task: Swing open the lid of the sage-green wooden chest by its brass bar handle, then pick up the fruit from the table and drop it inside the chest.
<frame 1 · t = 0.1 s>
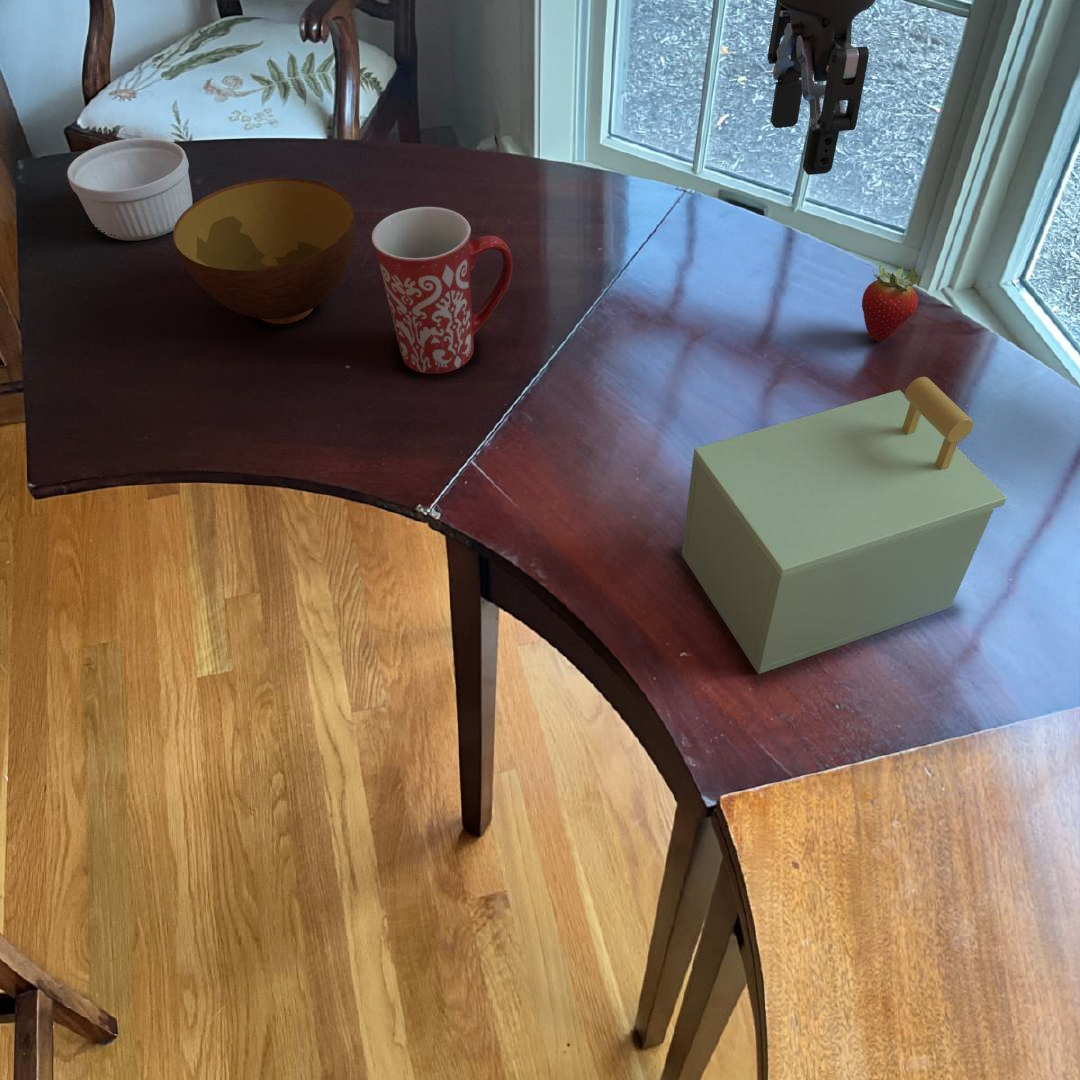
hand: (799, 147, 84), 21 cm above the table, tool pointing down, fingers open, 8 cm apart
bowl: (285, 308, 106), on the table
lid: (851, 451, 69), point 14 cm above the table, hinge at 0.0°
chest: (812, 580, 78), on the table
fruit: (879, 340, 100), on the table
ramekin: (146, 220, 119), on the table
mug: (454, 352, 100), on the table
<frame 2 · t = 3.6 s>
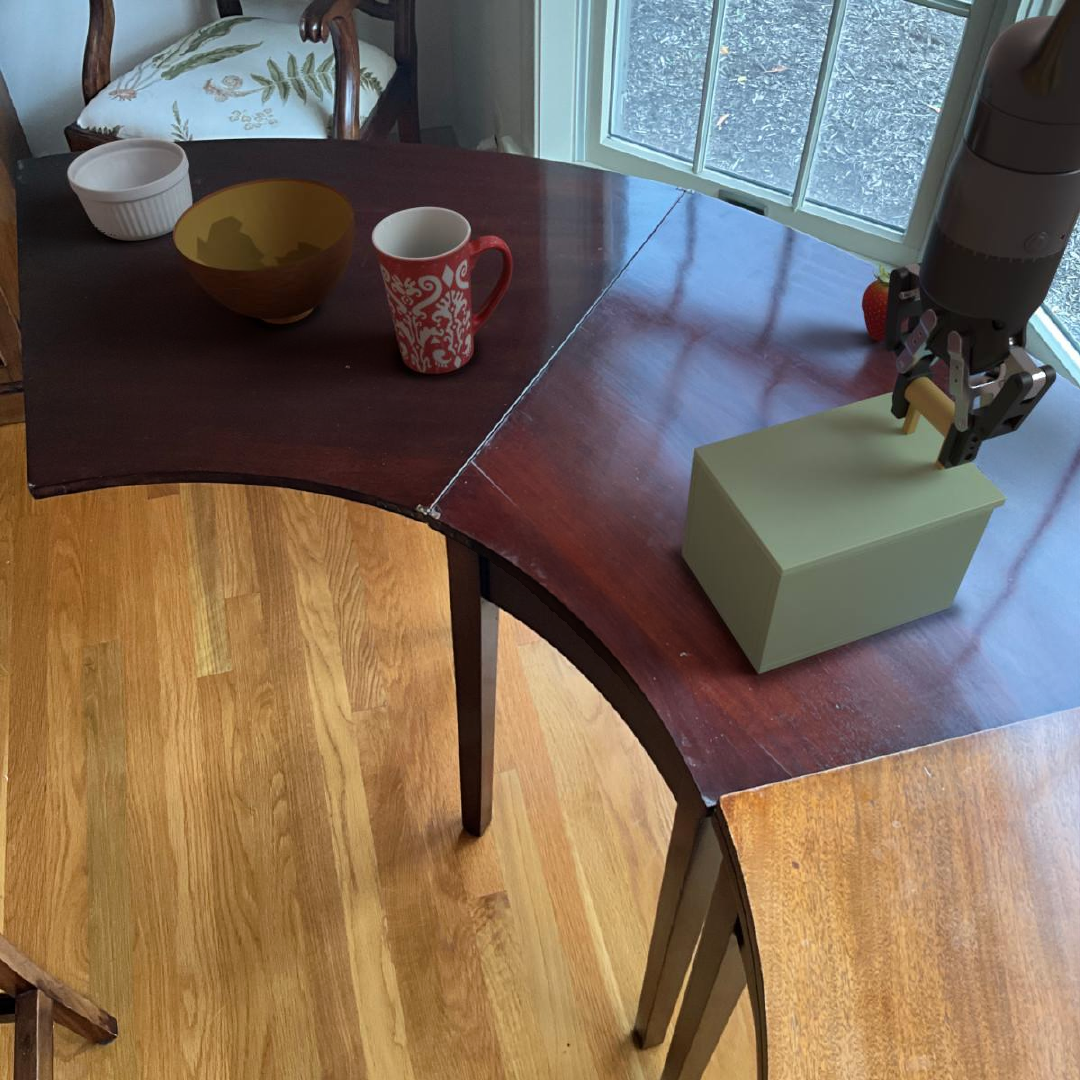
hand: (928, 436, 71), 13 cm above the table, tool pointing down, fingers closed on lid, 5 cm apart
lid: (851, 451, 69), point 14 cm above the table, hinge at 0.0°, touching gripper
everything else where it was.
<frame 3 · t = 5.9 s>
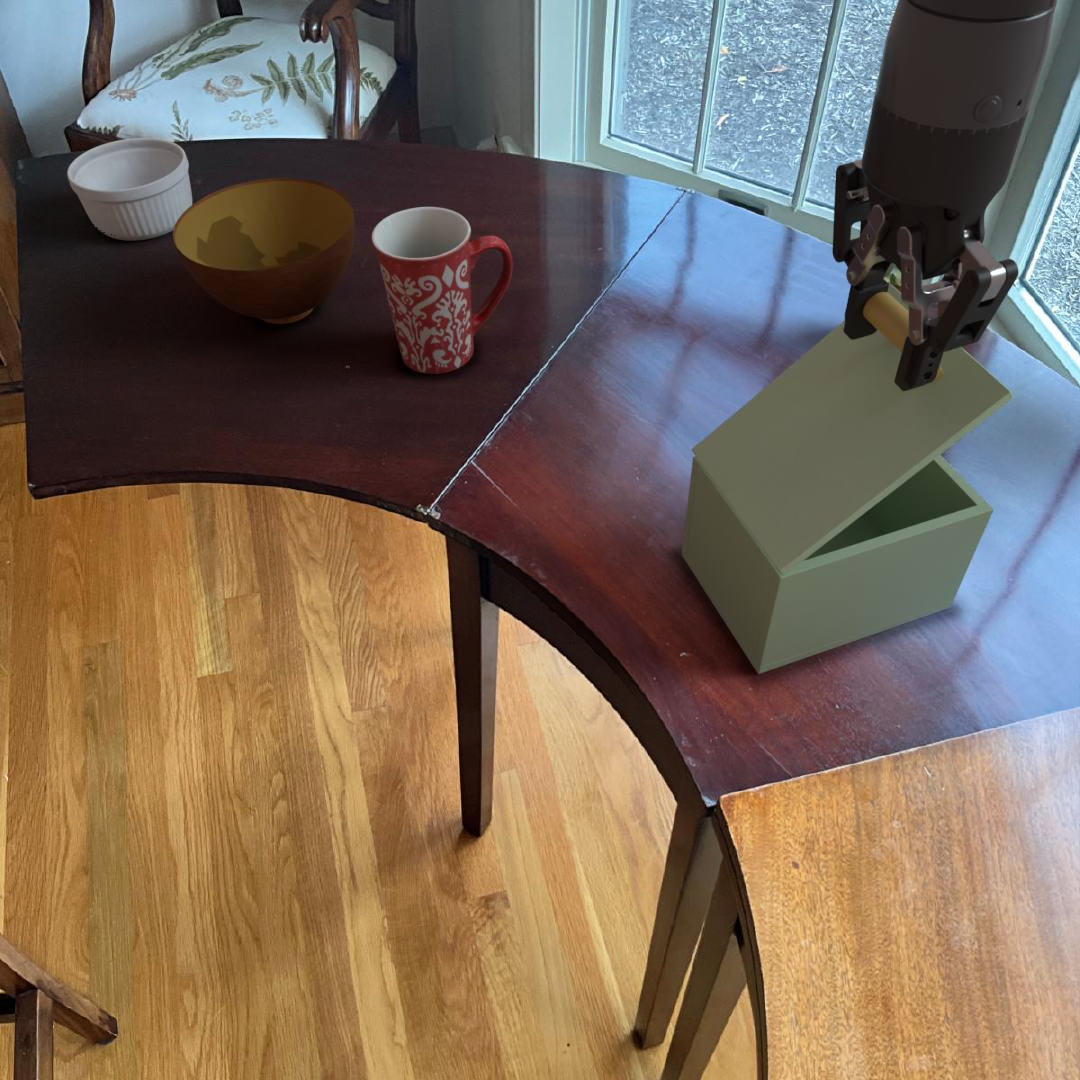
hand: (884, 357, 63), 21 cm above the table, tool pointing down, fingers closed on lid, 5 cm apart
lid: (824, 409, 64), point 18 cm above the table, hinge at 36.8°, touching gripper
everything else where it was.
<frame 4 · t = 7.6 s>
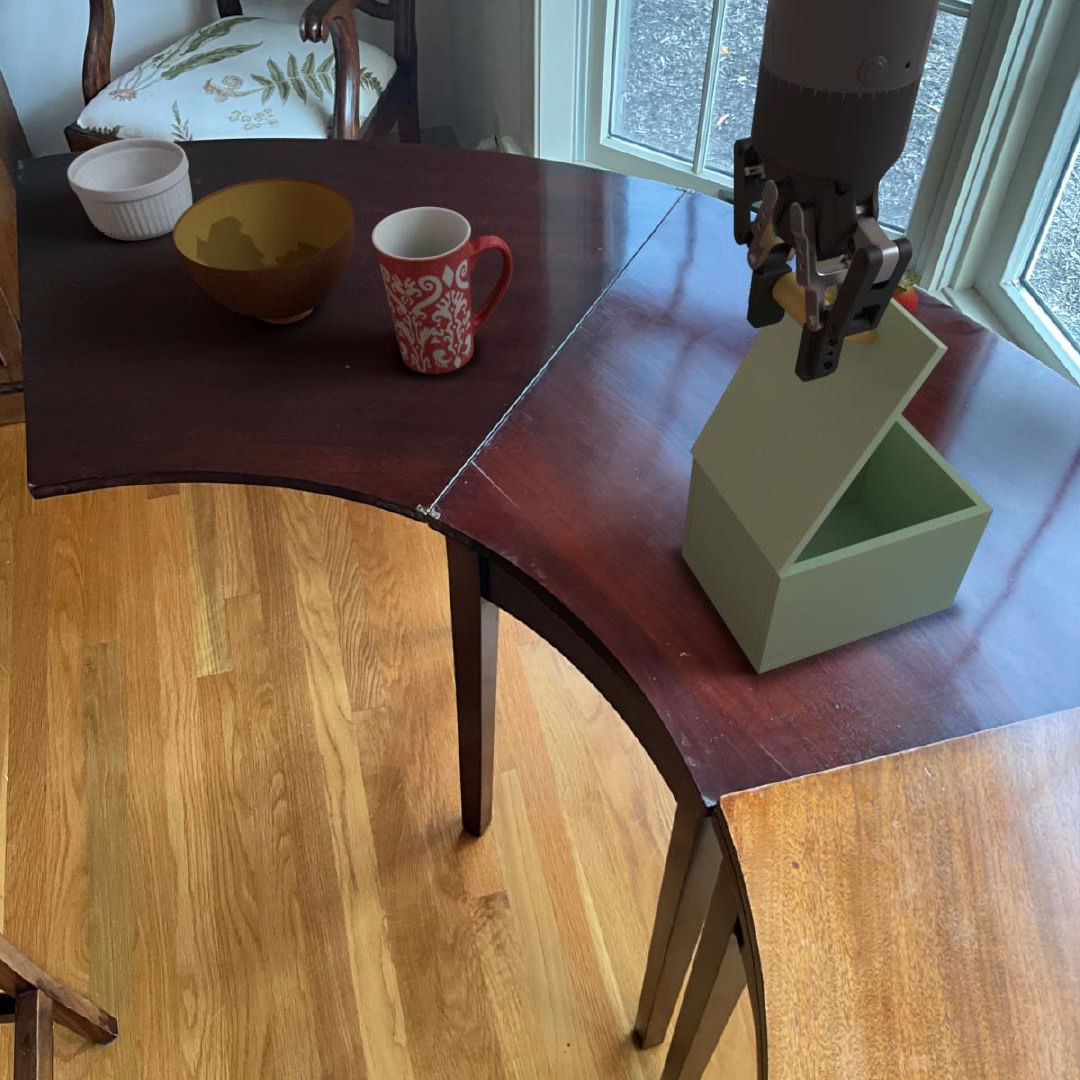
hand: (788, 347, 59), 24 cm above the table, tool pointing down, fingers closed on lid, 5 cm apart
lid: (774, 403, 62), point 20 cm above the table, hinge at 65.0°, touching gripper
everything else where it was.
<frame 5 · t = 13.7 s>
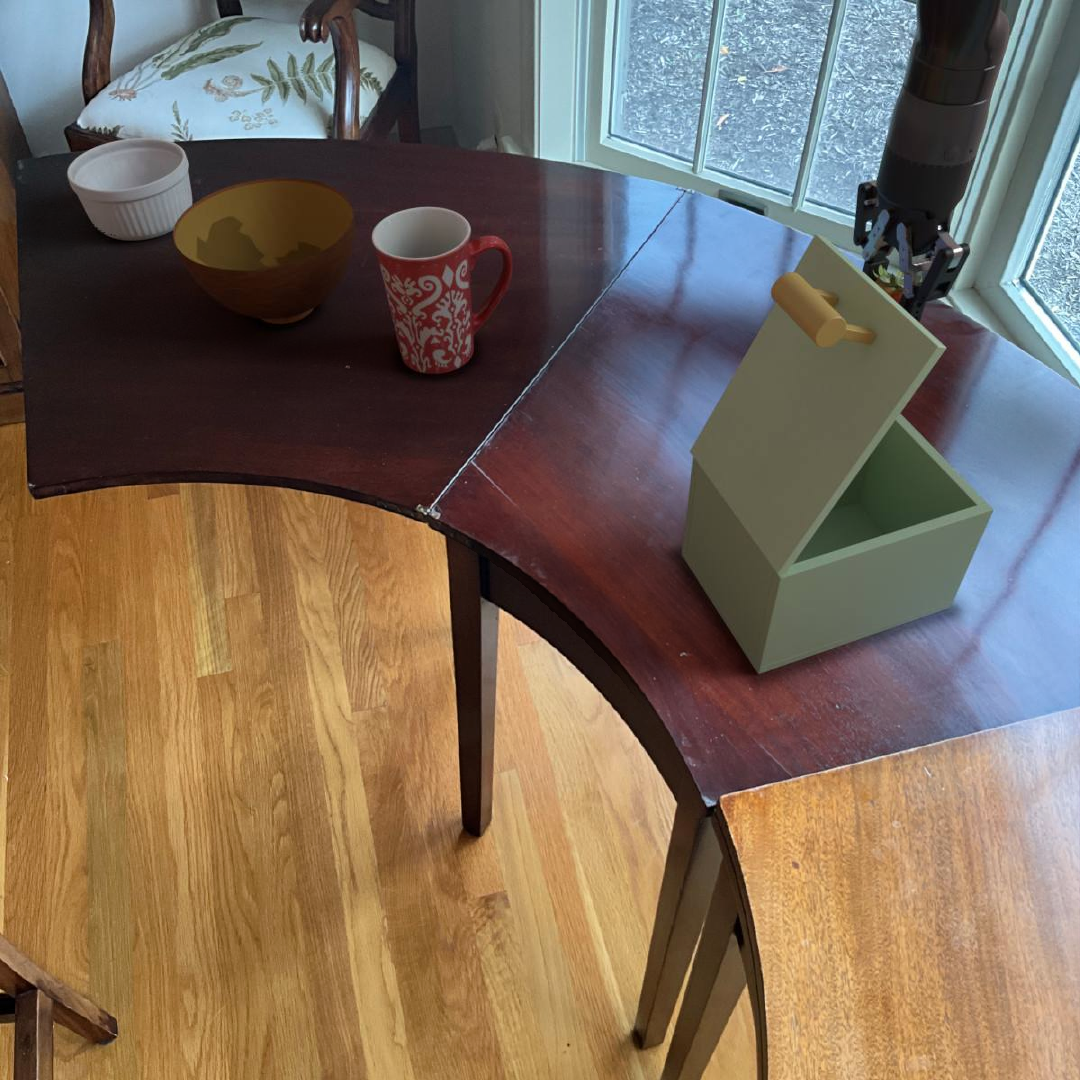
hand: (886, 309, 97), 3 cm above the table, tool pointing down, fingers closed on fruit, 5 cm apart
lid: (773, 403, 62), point 20 cm above the table, hinge at 65.4°
fruit: (879, 340, 100), on the table, touching gripper
everything else where it was.
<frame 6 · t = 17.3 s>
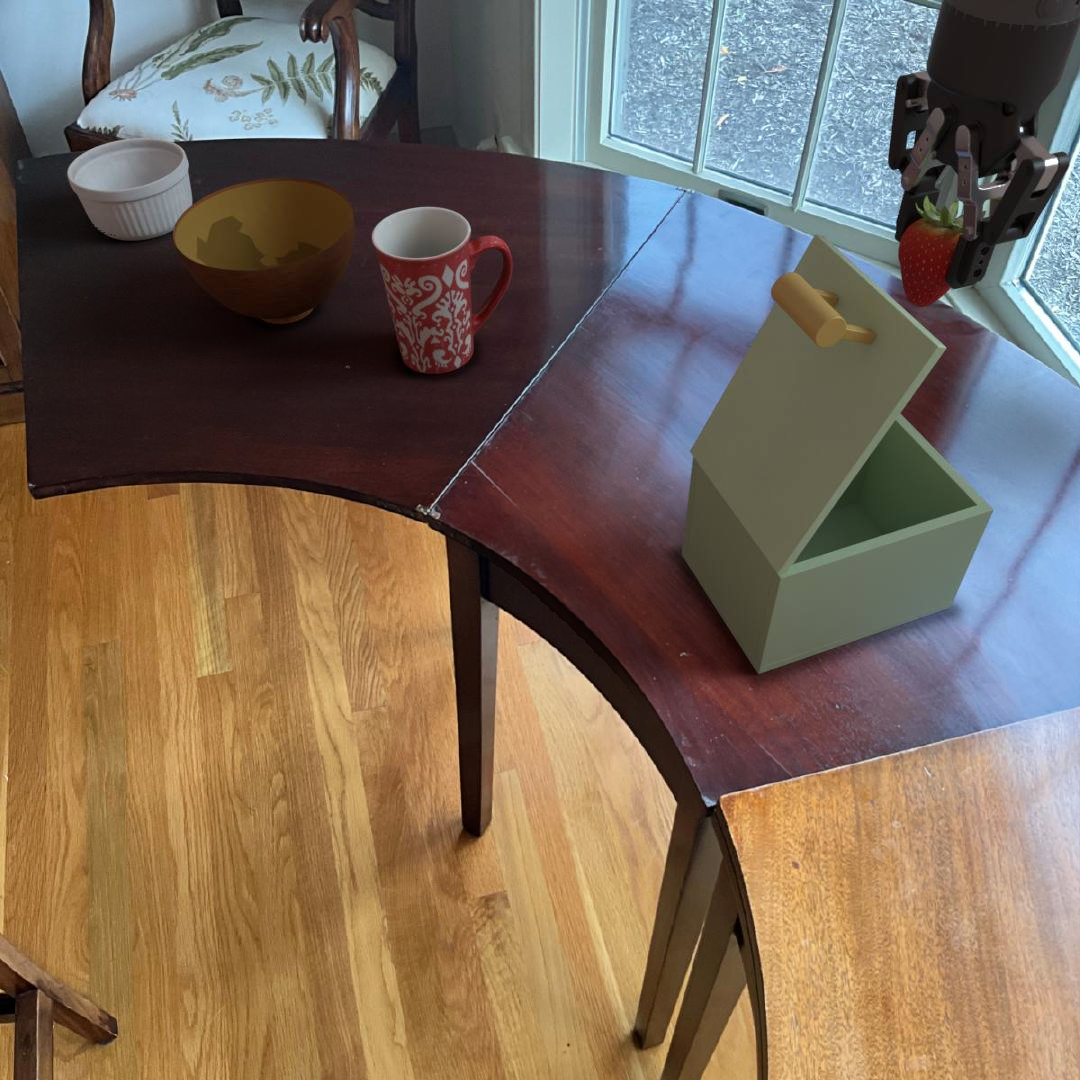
hand: (934, 260, 68), 23 cm above the table, tool pointing down, fingers closed on fruit, 5 cm apart
fruit: (921, 307, 71), point 19 cm above the table, touching gripper
everything else where it was.
when the fingers open (11 cm above the table, at t = 21.1 s): fruit drops 7 cm, resting on chest.
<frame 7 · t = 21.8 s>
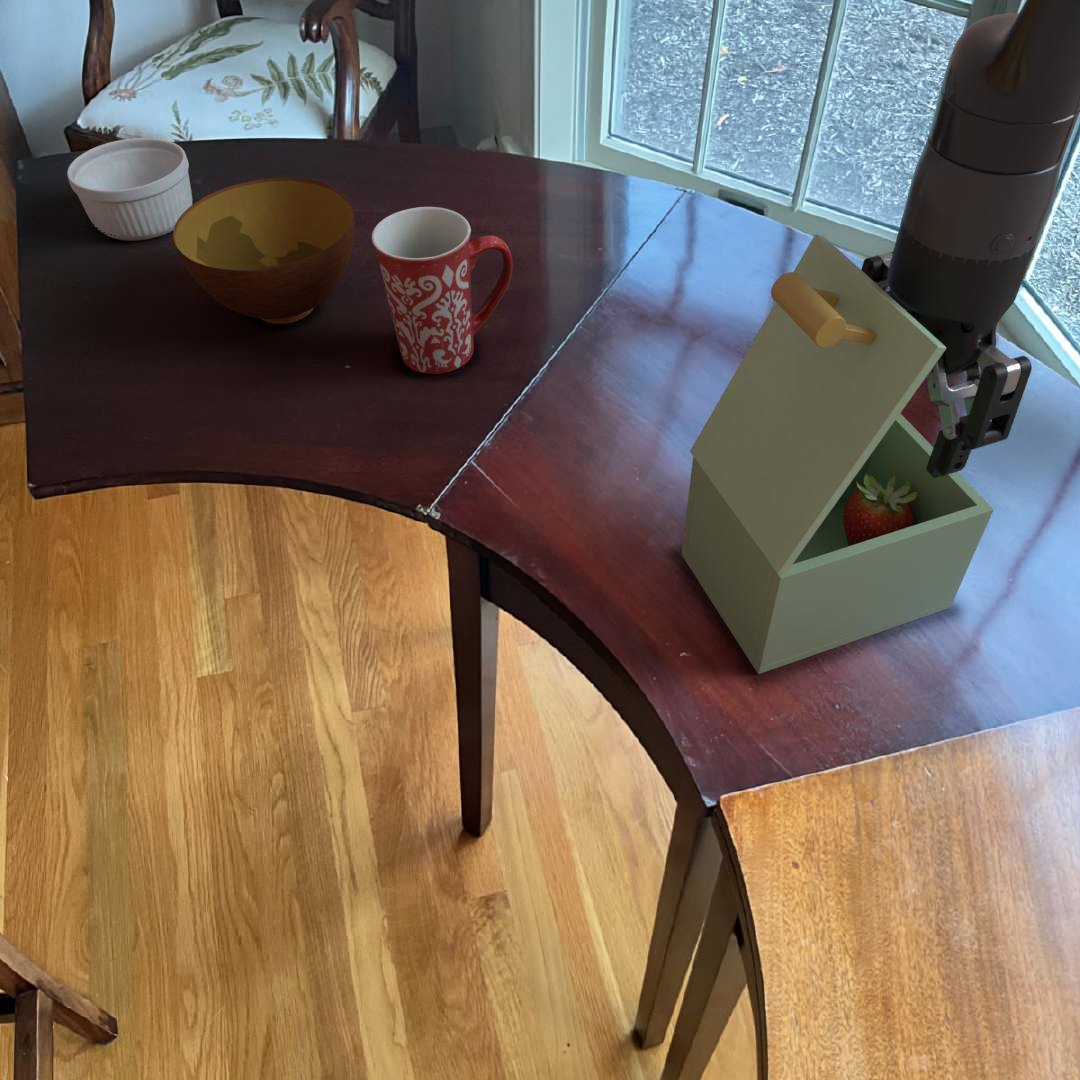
hand: (903, 432, 69), 14 cm above the table, tool pointing down, fingers open, 8 cm apart
fruit: (865, 558, 79), point 1 cm above the table, touching chest
everything else where it was.
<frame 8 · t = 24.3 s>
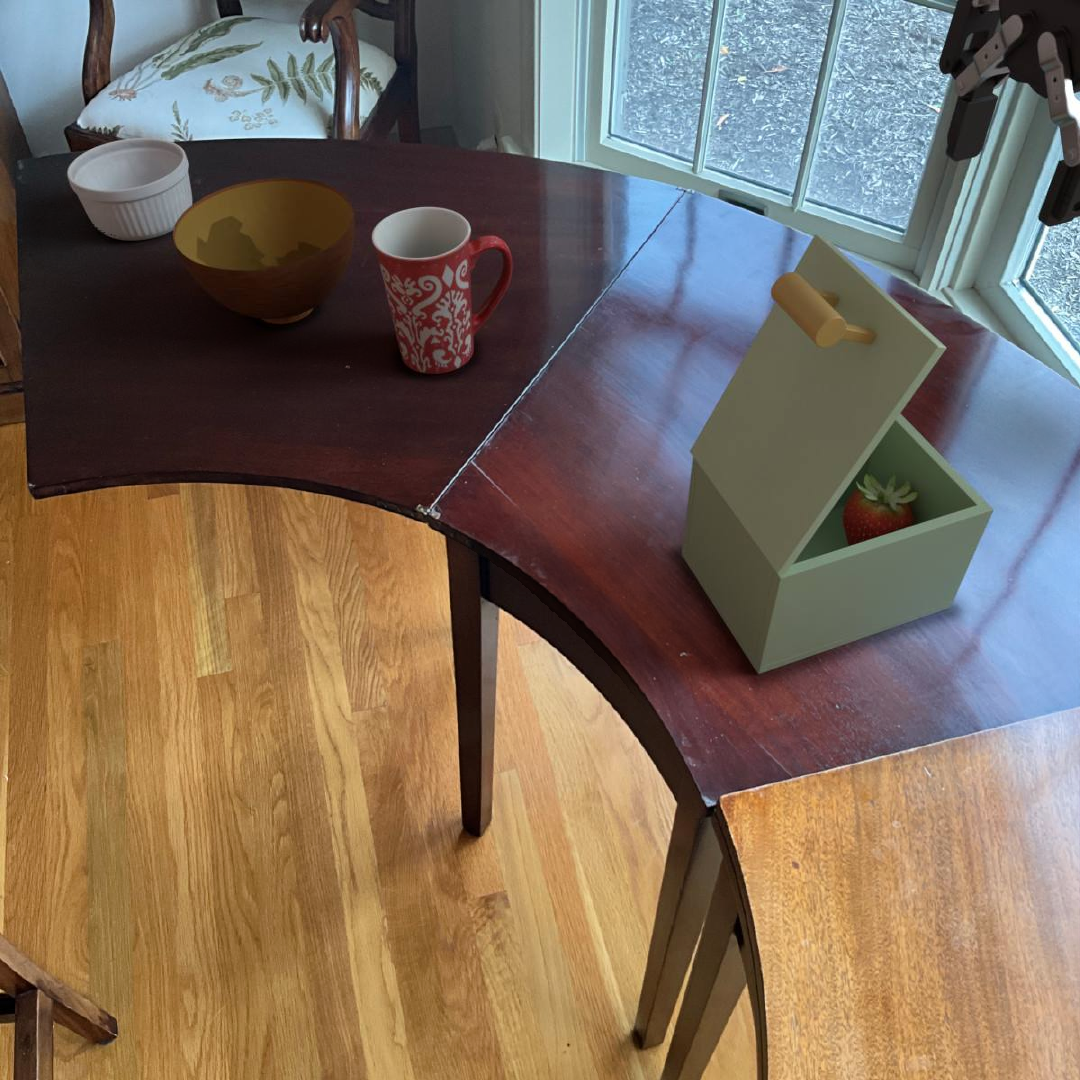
hand: (1006, 187, 60), 30 cm above the table, tool pointing down, fingers open, 8 cm apart
nothing on the table moved.
at the end: lid at +65° (first picture: +0°); fruit inside the target area in the chest (4.7 cm from its centre), point 0.6 cm above the chest's base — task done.
